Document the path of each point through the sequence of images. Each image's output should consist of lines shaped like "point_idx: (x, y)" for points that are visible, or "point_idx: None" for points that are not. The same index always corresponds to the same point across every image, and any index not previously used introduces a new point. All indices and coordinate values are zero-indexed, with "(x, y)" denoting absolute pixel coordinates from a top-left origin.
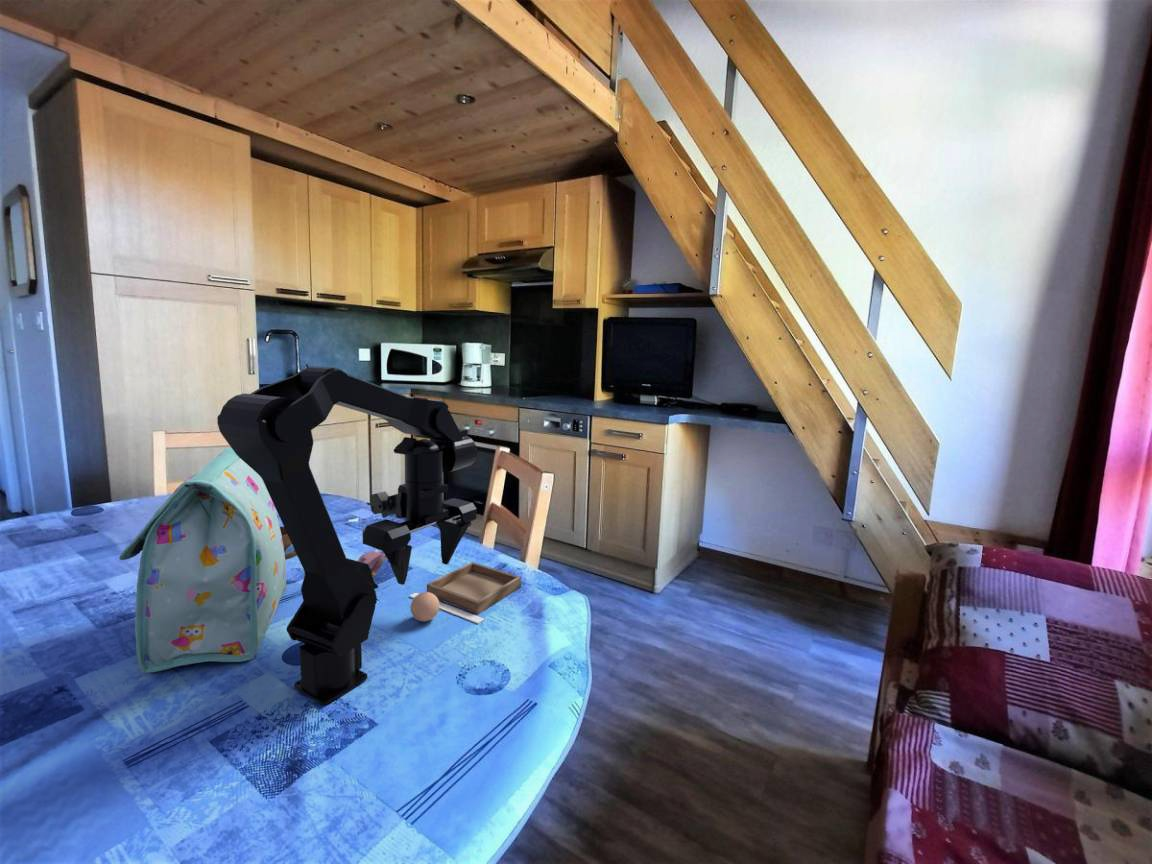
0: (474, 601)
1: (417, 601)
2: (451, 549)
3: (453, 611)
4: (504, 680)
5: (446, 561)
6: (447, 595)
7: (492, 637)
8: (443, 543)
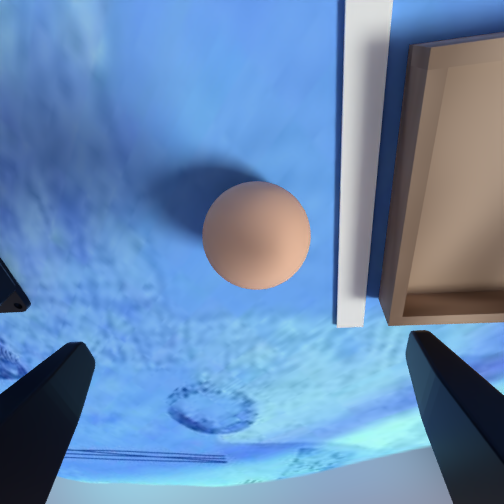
0: (393, 312)
1: (213, 260)
2: (452, 495)
3: (347, 246)
4: (228, 429)
5: (411, 374)
6: (403, 192)
7: (310, 369)
8: (498, 491)
